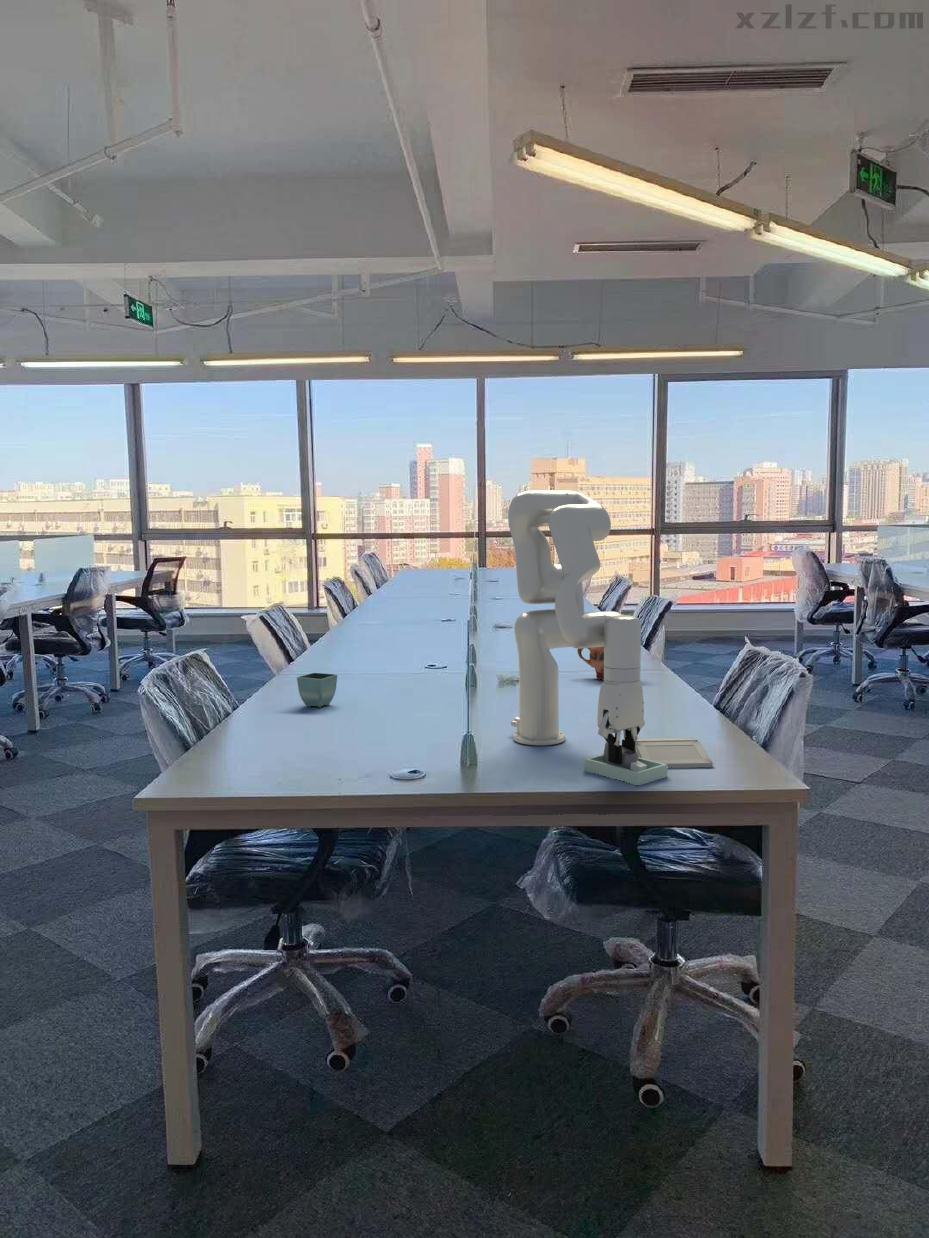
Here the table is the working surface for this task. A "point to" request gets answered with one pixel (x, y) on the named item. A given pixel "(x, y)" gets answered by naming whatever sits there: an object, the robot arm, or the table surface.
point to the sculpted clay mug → (595, 660)
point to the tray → (627, 770)
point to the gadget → (674, 752)
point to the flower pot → (317, 688)
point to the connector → (626, 760)
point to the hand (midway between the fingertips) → (621, 760)
